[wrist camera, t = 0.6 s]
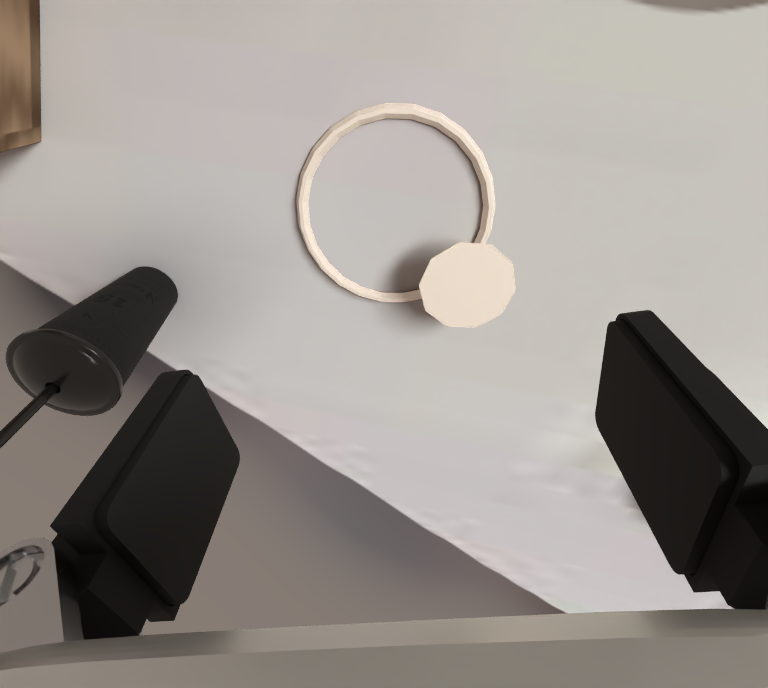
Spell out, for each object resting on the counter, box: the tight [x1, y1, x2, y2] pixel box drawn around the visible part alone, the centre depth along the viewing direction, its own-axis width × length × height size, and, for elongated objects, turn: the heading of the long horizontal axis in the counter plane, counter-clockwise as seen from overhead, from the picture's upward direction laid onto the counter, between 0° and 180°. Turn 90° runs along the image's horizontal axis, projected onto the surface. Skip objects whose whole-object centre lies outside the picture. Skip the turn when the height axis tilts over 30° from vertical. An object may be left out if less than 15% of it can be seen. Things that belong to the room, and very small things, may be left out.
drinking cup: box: [0, 267, 178, 448], centre depth 34 cm, size 8×8×20 cm
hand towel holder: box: [296, 103, 516, 328], centre depth 36 cm, size 17×4×21 cm
